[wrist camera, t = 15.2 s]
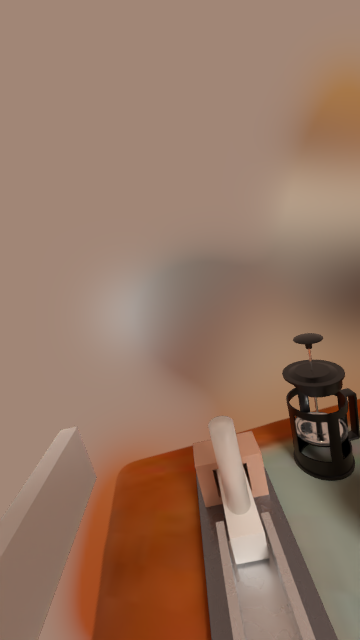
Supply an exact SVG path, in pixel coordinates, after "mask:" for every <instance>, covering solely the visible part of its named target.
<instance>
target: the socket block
mask: <svg viewBox="0 0 360 640" xmlns="http://www.w3.org/2000/svg"><path fill="white" fill-rule="evenodd" d="M236 437H237V442H238V446H239V451H240V456H241V460H242V464H243V468H244V471H245V474H246V477H247V480H248V483H249V486H250V489H251V492H252V496H253V498H254V497H259V496H264V495H269V491H268V486H267V481H266V475H265V470H264V465H263V460H262V454H261V451H260V449H259V447H258V444H257V442H256V440H255V438H254V435H253V433H252V431H249V432H244V433H240V434H236ZM193 451H194V462H195V469H196V473H197V477H198V480H199V484H200V488H201V492H202V495H203V499H204V503H205V507H210V506H215V505H220V504H223V501H222V496H221V490H220V485H219V480H218V475H217V471H216V469H218V465H217V461H216V456H215V452H214V448H213V444H212V440H207V441H202V442H198V443H193Z"/></svg>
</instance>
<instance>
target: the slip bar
mask: <svg viewBox="0 0 360 640" xmlns="http://www.w3.org/2000/svg"><path fill="white" fill-rule="evenodd" d="M208 427H209V431H210V435H211V440H212V444H213V448H214V452H215V456H216V461H217V465H218V469H216V471H217V475H218V480H219V485H220V490H221V496H222V501H223V506H224V511H225V516H226V522H227V527H228V532H229V537H230V542H231V546H232V550H233V554H234V558H235V562H236V565H237V564H242V563H247V562H252V561H257V560H262V559H267V558H270V557H269V552H268V548H267V543H266V538H265V533H264V530H263V526H262V523H261V520H260V517H259V514H258V511H257V508H256V505H255V502H254V499H253V496H252V492H251V489H250V486H249V483H248V480H247V477H246V474H245V471H244V468H243V464H242V460H241V456H240V451H239V446H238V442H237V437H236V432H235V428H234V423H233V420H232V419H231V418H230V417H227V416H218V417H215V418H213V419H212V420H211V421H210V422H209V425H208Z"/></svg>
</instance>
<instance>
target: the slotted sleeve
mask: <svg viewBox="0 0 360 640" xmlns="http://www.w3.org/2000/svg"><path fill="white" fill-rule="evenodd" d="M264 470H265V475H266V481H267V486H268V491H269V495H264V496H259V497H254V498H253V499H254V502H255V505H256V508H257V511H258V514H259V517H260V520H261V523H262V526H263V530H264V533H265V538H266V543H267V548H268V552H269V557H270V558H267V559H262V560H257V561H252V562H247V563H242V564H237V565H236V562H235V558H234V554H233V550H232V546H231V542H230V537H229V532H228V527H227V522H226V516H225V511H224V506H223V504H220V505H215V506H210V507H205V503H204V499H203V495H202V492H201V488H200V484H199V480H198V477H197V473H196V478H197V489H198V499H199V510H200V521H201V531H202V542H203V552H204V563H205V574H206V584H207V595H208V606H209V616H210V627H211V637H212V640H338V639H337V636H336V634H335V632H334V629H333V627H332V625H331V622H330V620H329V618H328V615H327V613H326V611H325V608H324V606H323V603H322V601H321V599H320V596H319V594H318V592H317V589H316V587H315V585H314V582H313V580H312V578H311V575H310V573H309V571H308V568H307V566H306V563H305V561H304V559H303V556H302V554H301V552H300V549H299V547H298V545H297V542H296V540H295V538H294V535H293V533H292V531H291V528H290V526H289V524H288V521H287V519H286V516H285V514H284V512H283V509H282V507H281V505H280V502H279V500H278V498H277V495H276V493H275V491H274V488H273V486H272V484H271V481H270V479H269V476H268V474H267V472H266V469H265V467H264Z"/></svg>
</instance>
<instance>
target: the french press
mask: <svg viewBox="0 0 360 640" xmlns="http://www.w3.org/2000/svg"><path fill="white" fill-rule="evenodd" d="M322 339H323V337H322V336H321V335H319V334H314V333H313V334H312V333H308V334H301V335H298V336H296V337H294V339H293V341H294V342H296V343H299V344H305V346H306V349H308V354H309V360H303V361H298V362H295V363H292V364H290V365H288V366H287V367H285V368H284V370H283V373H282V374H283V377H284V379H285V380H286V381H287V382H289V383H291V384H293V385H294V386H295V387H296V388H294V389H292V390H291V391H290V392H289V393H288V395H287V406H288V409H289V416H290V423H291V429H292V435H293V444H294V458H295V461H296V463H297V465H298V466H299V467H300V468H301V469H302V470H303V471H304V472H306V473H307V474H309V475H311V476H313V477H315V478H318V479H322V480H328V481H335V480H341V479H344V478H346V477H348V476H349V475H350V474H351V473H352V472H353V470H354V468H355V460H354V457H353V453H352V445H351V442H350V441H351V440H355V439H359V438H360V431H359V419H358V408H357V397H356V393H354V392H353V391H352V390H350V389H348V388H347V389H343V390H341V388H342V385H343V384H342V380H343V379H344V377H345V372H344V370H343V368H342V367H341V366H339V365H337V364H335V363H332V362H329V361H324V360H312V358H311V351H310V349H311V348H312V344H313V343H317V342H320V341H321V340H322ZM297 394H298V398H299V405H300V411H299V410H297V409H295V408H294V407H292V406H291V405H290V403H289V401H290V400H291V398H292V397H294V396H295V395H297ZM330 395H335V396H337V398H338V407H339V411H337V412H334V413H329V414H327V413H322V412H318V406H317V398H316V397H326V396H330ZM308 396H309V397H314V400H315V408H316V412H310V407H309V400H308ZM347 397H348V401H349V411H350V422H351V431H349V432H348V424H347V414H346V413H347V412H348V401H347ZM295 416H296V417H297V418H296V419H295ZM309 444H310V445H313V446H318V447H330V451H331V459H332V462H324V461H318V460H314V459H311V458H309V457H307V456H305V455H304V454H302V450H303V448H304V447H305V446H307V445H309ZM342 453H343V454H344V456H345V458H343V455H342Z"/></svg>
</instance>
